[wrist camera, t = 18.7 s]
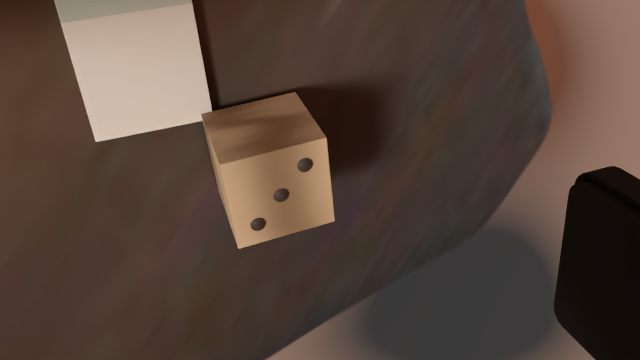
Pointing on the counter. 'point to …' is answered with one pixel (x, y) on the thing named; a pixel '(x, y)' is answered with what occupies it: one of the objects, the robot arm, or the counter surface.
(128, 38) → the track
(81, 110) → the counter surface
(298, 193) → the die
